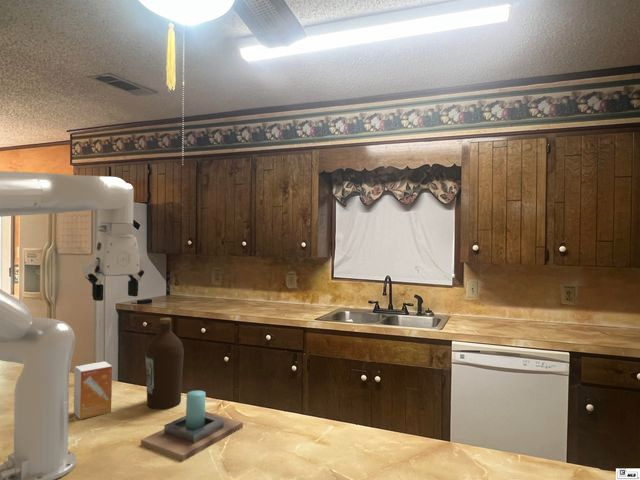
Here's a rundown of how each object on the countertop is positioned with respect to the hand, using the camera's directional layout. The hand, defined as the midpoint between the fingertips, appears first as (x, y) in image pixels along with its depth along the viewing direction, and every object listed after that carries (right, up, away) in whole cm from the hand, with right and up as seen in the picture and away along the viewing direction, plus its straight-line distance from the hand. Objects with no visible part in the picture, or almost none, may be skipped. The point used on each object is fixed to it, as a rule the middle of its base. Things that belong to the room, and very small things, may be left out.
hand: (116, 298), depth 109 cm
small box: (-11, -33, +10) cm, 36 cm away
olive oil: (+6, -34, +17) cm, 38 cm away
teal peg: (+21, -32, -3) cm, 39 cm away
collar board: (+21, -34, -3) cm, 40 cm away
